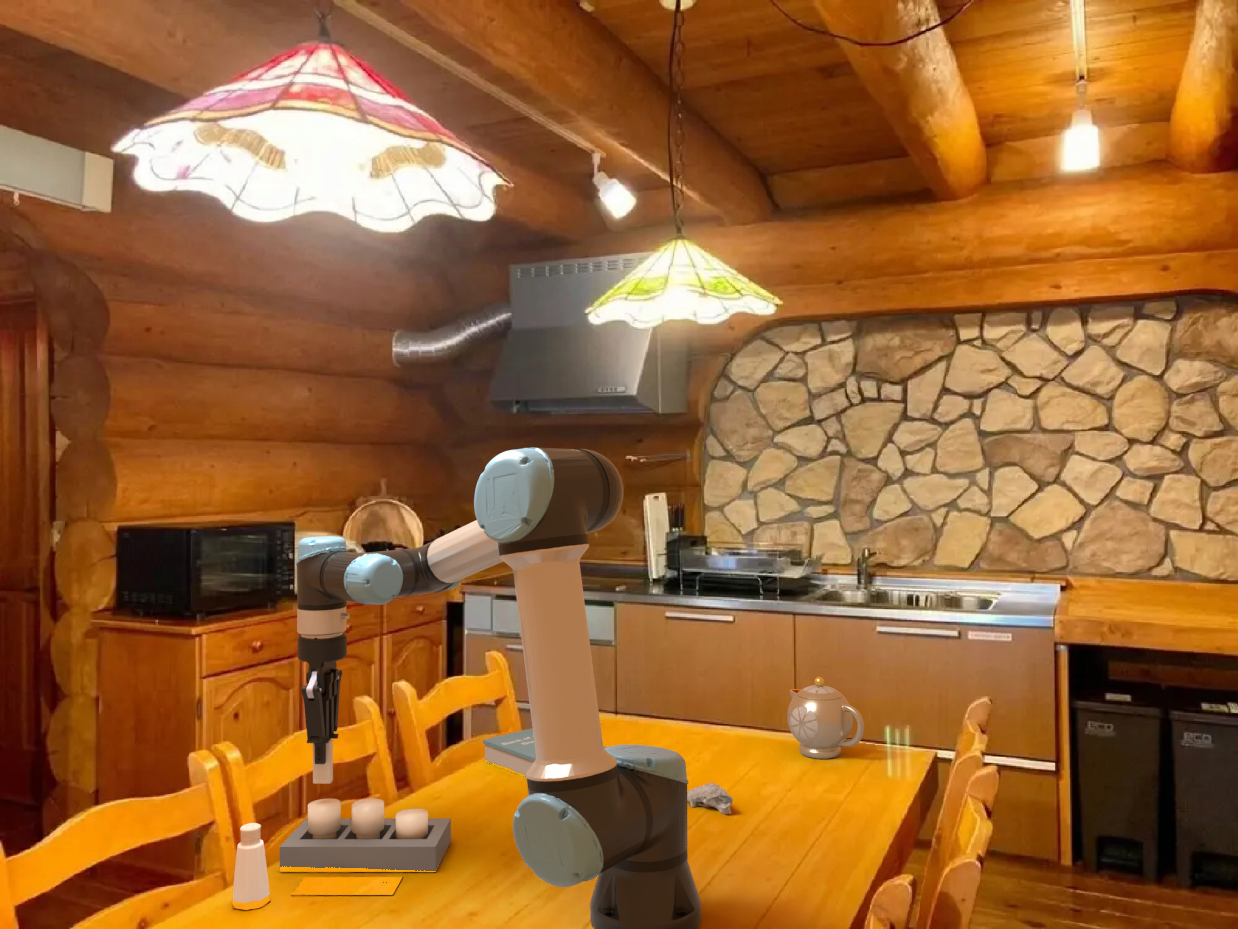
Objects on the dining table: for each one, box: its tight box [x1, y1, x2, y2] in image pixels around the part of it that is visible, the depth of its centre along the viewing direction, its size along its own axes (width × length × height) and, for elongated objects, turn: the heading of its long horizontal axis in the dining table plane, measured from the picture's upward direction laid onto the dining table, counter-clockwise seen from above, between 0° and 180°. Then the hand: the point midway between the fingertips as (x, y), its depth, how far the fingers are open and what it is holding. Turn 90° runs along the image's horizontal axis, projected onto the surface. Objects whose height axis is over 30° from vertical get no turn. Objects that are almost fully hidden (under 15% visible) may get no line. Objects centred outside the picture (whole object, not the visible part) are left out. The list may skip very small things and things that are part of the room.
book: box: [482, 727, 608, 778], centre depth 204 cm, size 23×16×5 cm
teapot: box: [786, 676, 865, 760], centre depth 209 cm, size 18×14×16 cm
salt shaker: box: [232, 822, 271, 903], centre depth 141 cm, size 5×5×11 cm
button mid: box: [351, 797, 385, 839], centre depth 157 cm, size 5×5×6 cm
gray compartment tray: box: [278, 817, 452, 872], centre depth 157 cm, size 12×24×4 cm, turn 89°
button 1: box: [307, 798, 342, 839], centre depth 157 cm, size 5×5×6 cm
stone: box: [687, 782, 734, 815], centre depth 179 cm, size 6×12×4 cm, turn 17°
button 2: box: [395, 808, 429, 839], centre depth 157 cm, size 5×5×6 cm
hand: (322, 782), depth 157 cm, fingers closed
